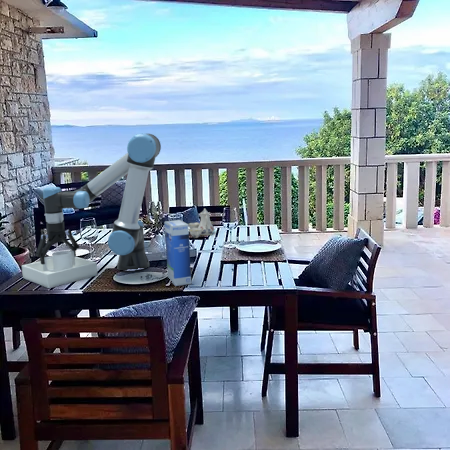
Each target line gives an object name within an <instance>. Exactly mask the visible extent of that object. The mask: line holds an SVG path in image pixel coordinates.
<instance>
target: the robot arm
mask: <svg viewBox="0 0 450 450" xmlns="http://www.w3.org/2000/svg"><path fill="white" fill-rule="evenodd" d="M161 149H162V145H161V141H160V139H159V138H158V137H157V136H156V135H155V134H152V133H137V134H136V135H133V136H132V137H131V138H130V140H128V143H127V147H126V150H127V153H125V154H124V155H123V156H122V157H119V159H117V160H116V161H115V162H113V163H112V164H111V165H110V166H108V167H107V168H106V169H104V170H103V171H102V172H100V173H99V174H98V175H96V176H95V177H94V178H92V179H90V180H89V182H87V183H86V184H84V185H83V186H82V187H80V188H79V189H76V190H74V191H62V189H61V187H59V186H50V187H45V188H43V191H42V194H43V198H42V199H43V205H44V206H43V207H44V215H45V222H46V232H47V234H40V239H39V243H38V246H37V249H36V252H35V257H37V258H39V260H40V261H41V264H43V271H46V272H47V271H48V267H47V256H46V255H47V253H48V251H50V249H51V246H52V245H54V244H56V243H61V242H62V243H64V244H65V245H66V246H67V247H68V248H69V249H70V250H69V251H71V254H72V264H73V265H75V257H77V250H78V249H79V248H80V246H79V244H78V242H77V241H76V239H75V237H74V236H73V233H72V230H71V229H66V230H65V221H64V212H63V211H64V210H63V209H85V208H86V209H87V208H88V207H89V205H90V203H91V202H93V201H94V200H95V199H96V198H97V197H98V196H99V195H101V194H102V193H104V192H105V191H106V190H107V189H109V188H110V187H112V186H113V185H115V184H116V183H118V181H120V180H121V179H123V178H124V177H125V176H126V175H127V176H126V181H125V185H124V186H125V187H124V191H123V195H122V200H121V205H120V210H119V214H118V218H117V219H116V220H115V221H114V222H113V225H112V230H111V233H110V234H109V236H108V239H107V246H108V248H109V249H110V251H111V252H112V253H114V254H115V255H117V256H118V261H117V263H116V266H117V267H116V268H117V270H118V271H120V270H127V269H138V268H147V267H148V268H149V267H150V261H149V258H148V256H147V253H146V251H145V236H144V232H145V231H144V224H143V223H144V222H143V221H142V220H139V218H140V212H141V209H142V204H143V200H144V194H145V190H146V187H147V182H148V177H149V172H150V171H151V170H153V169H154V165H155V163H156V162H155V161H156V158H157V157H158V156H159V154H160V153H161ZM65 236H67V238H66V237H65ZM67 239H69V240H70V242H69V240H67ZM46 240H47V241H46ZM148 268H147V269H148Z"/></svg>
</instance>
